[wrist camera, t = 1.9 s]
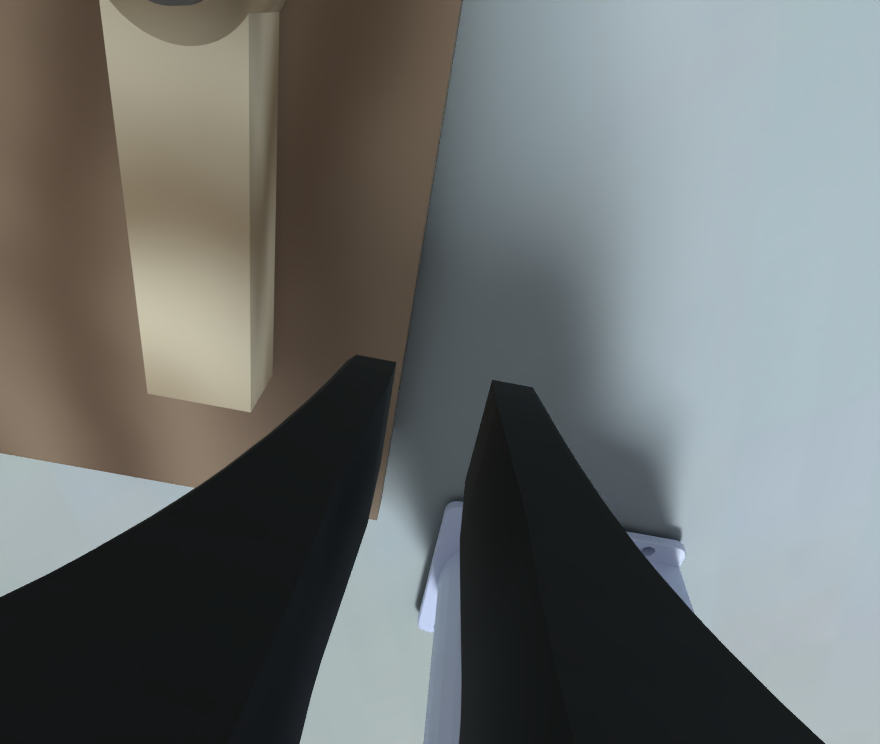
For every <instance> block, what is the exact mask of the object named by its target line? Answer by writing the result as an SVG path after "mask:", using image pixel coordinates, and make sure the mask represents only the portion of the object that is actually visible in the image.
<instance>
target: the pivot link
mask: <svg viewBox="0 0 880 744" xmlns="http://www.w3.org/2000/svg"><path fill="white" fill-rule="evenodd" d="M285 1H286V0H99V2H100V11H101V19H102V27H103V35H104V43H105V51H106V59H107V67H108V76H109V84H110V92H111V100H112V108H113V116H114V124H115V132H116V141H117V149H118V157H119V165H120V173H121V181H122V189H123V197H124V206H125V214H126V222H127V230H128V238H129V246H130V254H131V262H132V271H133V279H134V287H135V295H136V303H137V311H138V319H139V327H140V336H141V344H142V352H143V360H144V368H145V376H146V384H147V392H148V394H153V395H158V396H164V397H169V398H175V399H180V400H185V401H191V402H196V403H202V404H207V405H213V406H218V407H224V408H229V409H235V410H240V411H246V412H251V411H252V410H253V408H254V406H255V404H256V403H257V401H258V399H259V398H260V396H261V394H262V392H263V391H264V389H265V387H266V386H267V384H268V382H269V381H270V379H271V377H272V375H273V327H274V275H275V222H276V170H277V117H278V64H279V12H280V10H281V9H282V7H283V5H284V3H285Z"/></svg>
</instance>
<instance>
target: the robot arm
mask: <svg viewBox="0 0 880 744" xmlns="http://www.w3.org/2000/svg"><path fill="white" fill-rule="evenodd" d="M395 369H396V362H393V361H388V360H382V359H377V358H372V357H366V356H361V355H355V356H353V357H352V358H350V359H348V360H347V361H346V362H345V364H344V365H343V366H342V367H341V368H340V369H339V370H338V371H337V372H336V373H335V374H334V375H333V376H332V377H331V378H330V379H329V380H328V381H327V382H326V383H325V384H324V385H323V386H322V387H321V388H320V389H319V390H318V391H317V392H316V393H315V394H314V395H312V396H311V397H310V398H309V399H308V400H307V401H306V402H305V403H304V404H303V405H301V406H300V407H299V408H298V409H297V410H296V411H295V412H293V413H292V414H291V415H290V416H289V417H288V418H287V419H285V420H284V421H283V422H282V423H281V424H280V425H279V426H277V427H276V428H275V429H274V430H273V431H271V432H270V433H269V434H268V435H266V436H265V437H264V438H263V439H261V440H260V441H259V442H257V443H256V444H255V445H253V446H252V447H251V448H250V449H248V450H247V451H246V452H244V453H243V454H242V455H240V456H239V457H238V458H237V459H235V460H234V461H233V462H231V463H230V464H229V465H227V466H226V467H225V468H223V469H222V470H221V471H219V472H218V473H216V474H215V475H213V476H212V477H211V478H209V479H208V480H206V481H205V482H203V483H202V484H200V485H199V486H197V487H196V488H195V489H193V490H192V491H190V492H189V493H187V494H186V495H184V496H182V497H181V498H179V499H178V500H176V501H175V502H173V503H171V504H170V505H168V506H167V507H165V508H164V509H162V510H160V511H159V512H157V513H156V514H154V515H152V516H151V517H149V518H147V519H146V520H144V521H142V522H141V523H139V524H137V525H135V526H134V527H132V528H130V529H128V530H127V531H125V532H123V533H122V534H120V535H118V536H116V537H115V538H113V539H111V540H109V541H108V542H106V543H104V544H102V545H101V546H99V547H97V548H96V549H94V550H92V551H90V552H88V553H86V554H85V555H83V556H81V557H79V558H77V559H75V560H74V561H72V562H70V563H68V564H66V565H64V566H62V567H61V568H59V569H57V570H55V571H53V572H51V573H49V574H47V575H45V576H43V577H41V578H39V579H37V580H35V581H33V582H31V583H29V584H27V585H25V586H23V587H21V588H18V589H16V590H14V591H12V592H10V593H8V594H6V595H4V596H2V597H0V744H299V743H300V739H301V735H302V731H303V727H304V723H305V719H306V714H307V710H308V706H309V702H310V698H311V694H312V691H313V687H314V684H315V680H316V677H317V674H318V670H319V667H320V664H321V660H322V657H323V654H324V651H325V648H326V645H327V642H328V639H329V636H330V634H331V631H332V628H333V625H334V622H335V619H336V616H337V613H338V610H339V607H340V604H341V601H342V598H343V595H344V592H345V589H346V586H347V583H348V580H349V577H350V574H351V571H352V568H353V565H354V562H355V559H356V556H357V553H358V551H359V548H360V545H361V542H362V539H363V536H364V533H365V530H366V527H367V523H368V519H369V515H370V511H371V506H372V502H373V497H374V493H375V488H376V483H377V479H378V474H379V470H380V465H381V459H382V452H383V446H384V440H385V433H386V427H387V420H388V414H389V407H390V401H391V394H392V388H393V382H394V375H395ZM645 547H648V548H645ZM685 556H686V551H685V548H684V546H683V544H682V543H681V542H679V541H676V540H672V539H666V538H660V537H655V536H649V535H644V534H638V533H633V532H627V531H625V530H624V528H623V527H622V526H621V524H620V523H619V522H618V521H617V519H616V518H615V517H614V515H613V514H612V513H611V511H610V510H609V508H608V507H607V506H606V504H605V503H604V501H603V500H602V498H601V497H600V496H599V494H598V493H597V491H596V490H595V488H594V487H593V485H592V483H591V482H590V480H589V479H588V477H587V476H586V474H585V473H584V471H583V470H582V468H581V467H580V465H579V464H578V462H577V461H576V459H575V457H574V456H573V454H572V453H571V451H570V449H569V448H568V446H567V445H566V443H565V441H564V440H563V438H562V436H561V435H560V433H559V431H558V430H557V428H556V426H555V425H554V423H553V421H552V419H551V418H550V416H549V414H548V413H547V411H546V409H545V407H544V406H543V404H542V402H541V401H540V399H539V397H538V396H537V394H536V392H535V391H534V389H533V388H532V387H527V386H522V385H516V384H511V383H506V382H500V381H495V380H492V383H491V387H490V391H489V394H488V398H487V402H486V406H485V409H484V413H483V417H482V421H481V424H480V428H479V432H478V436H477V439H476V443H475V447H474V451H473V454H472V458H471V462H470V466H469V470H468V473H467V477H466V482H465V491H464V500H463V502H461V501H454V502H450V503H449V504H448V505H447V506H446V508H445V511H444V515H443V519H442V523H441V527H440V531H439V535H438V539H437V543H436V547H435V551H434V555H433V559H432V563H431V567H430V571H429V575H428V579H427V583H426V587H425V591H424V595H423V599H422V603H421V607H420V611H419V615H418V622H417V624H418V627H419V628H420V629H422V630H423V631H427V632H432V633H434V636H433V646H432V657H431V668H430V679H429V690H428V700H427V711H426V722H425V733H424V743H423V744H825V743H824V742H823V741H822V740H821V739H820V738H819V737H817V736H816V735H815V734H814V733H813V732H812V731H811V730H810V729H809V728H808V727H807V726H806V725H805V724H804V723H802V722H801V721H800V720H799V719H798V718H797V717H796V716H795V715H794V714H793V713H792V712H791V711H790V710H789V709H788V708H786V707H785V706H784V705H783V704H782V703H781V702H780V701H779V700H778V699H777V698H776V697H775V696H774V695H773V694H772V693H771V692H770V691H769V690H768V689H767V688H766V687H765V686H764V685H763V684H762V683H761V682H760V681H759V680H758V679H757V678H756V677H755V676H754V675H753V674H752V673H751V672H750V671H749V670H748V669H747V668H746V667H745V666H744V665H743V664H742V663H741V662H740V661H739V660H738V659H737V658H736V657H735V656H734V655H733V654H732V653H731V652H730V651H729V650H728V649H727V648H726V647H725V646H724V645H723V644H722V643H721V642H720V641H719V640H718V638H717V637H716V636H715V635H714V634H713V633H712V632H711V631H710V630H709V629H708V628H707V627H706V626H705V625H704V624H703V623H702V621H701V620H700V619H699V618H698V617H697V616H696V615H695V614H694V611H693V608H692V605H691V602H690V599H689V596H688V593H687V590H686V587H685V584H684V581H683V578H682V575H681V572H680V569H679V567H680V565H681V563H682V562H683V560H684V558H685Z"/></svg>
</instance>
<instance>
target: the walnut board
mask: <svg viewBox="0 0 880 744" xmlns="http://www.w3.org/2000/svg"><path fill="white" fill-rule="evenodd" d="M462 2H463V0H286V1H285V3H284V5H283V7H282V9H281V10H280V12H279V64H278V117H277V170H276V222H275V275H274V327H273V375H272V377H271V379H270V381H269V382H268V384H267V386H266V387H265V389H264V391H263V392H262V394H261V396H260V398H259V399H258V401H257V403H256V404H255V406H254V408H253V410H252V411H251V412H246V411H240V410H235V409H229V408H224V407H218V406H213V405H207V404H202V403H196V402H191V401H185V400H180V399H175V398H169V397H164V396H158V395H153V394H148V392H147V384H146V376H145V368H144V360H143V352H142V344H141V336H140V327H139V319H138V311H137V303H136V295H135V287H134V279H133V271H132V262H131V254H130V246H129V238H128V230H127V222H126V214H125V206H124V197H123V189H122V181H121V173H120V165H119V157H118V149H117V141H116V132H115V124H114V116H113V108H112V100H111V92H110V84H109V76H108V67H107V59H106V51H105V43H104V35H103V27H102V19H101V11H100V2H99V0H0V453H4V454H9V455H15V456H20V457H26V458H32V459H37V460H43V461H48V462H54V463H60V464H65V465H71V466H76V467H82V468H88V469H93V470H99V471H104V472H110V473H116V474H121V475H127V476H132V477H138V478H144V479H149V480H155V481H160V482H166V483H171V484H177V485H183V486H188V487H194V488H196V487H197V486H199V485H200V484H202V483H203V482H205V481H206V480H208V479H209V478H211V477H212V476H213V475H215V474H216V473H218V472H219V471H221V470H222V469H223V468H225V467H226V466H227V465H229V464H230V463H231V462H233V461H234V460H235V459H237V458H238V457H239V456H240V455H242V454H243V453H244V452H246V451H247V450H248V449H250V448H251V447H252V446H253V445H255V444H256V443H257V442H259V441H260V440H261V439H263V438H264V437H265V436H266V435H268V434H269V433H270V432H271V431H273V430H274V429H275V428H276V427H277V426H279V425H280V424H281V423H282V422H283V421H284V420H285V419H287V418H288V417H289V416H290V415H291V414H292V413H293V412H295V411H296V410H297V409H298V408H299V407H300V406H301V405H303V404H304V403H305V402H306V401H307V400H308V399H309V398H310V397H311V396H312V395H314V394H315V393H316V392H317V391H318V390H319V389H320V388H321V387H322V386H323V385H324V384H325V383H326V382H327V381H328V380H329V379H330V378H331V377H332V376H333V375H334V374H335V373H336V372H337V371H338V370H339V369H340V368H341V367H342V366H343V365H344V364H345V362H346V361H347V360H348V359H350V358H352V357H353V356H355V355H361V356H366V357H372V358H377V359H382V360H388V361H393V362H396V369H395V375H394V382H393V388H392V394H391V401H390V407H389V414H388V420H387V427H386V433H385V440H384V446H383V452H382V459H381V465H380V470H379V474H378V479H377V483H376V488H375V493H374V497H373V502H372V506H371V511H370V515H369V519H373V520H377V517H378V513H379V508H380V504H381V499H382V493H383V486H384V480H385V474H386V468H387V462H388V456H389V450H390V444H391V437H392V431H393V425H394V419H395V413H396V407H397V401H398V395H399V388H400V382H401V376H402V370H403V364H404V358H405V352H406V346H407V339H408V333H409V327H410V321H411V315H412V309H413V303H414V297H415V290H416V284H417V278H418V272H419V266H420V260H421V254H422V247H423V241H424V235H425V229H426V223H427V217H428V211H429V205H430V198H431V192H432V186H433V180H434V174H435V168H436V162H437V156H438V149H439V143H440V137H441V131H442V125H443V119H444V113H445V107H446V100H447V94H448V88H449V82H450V76H451V70H452V64H453V57H454V51H455V45H456V39H457V33H458V27H459V21H460V15H461V8H462Z"/></svg>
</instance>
